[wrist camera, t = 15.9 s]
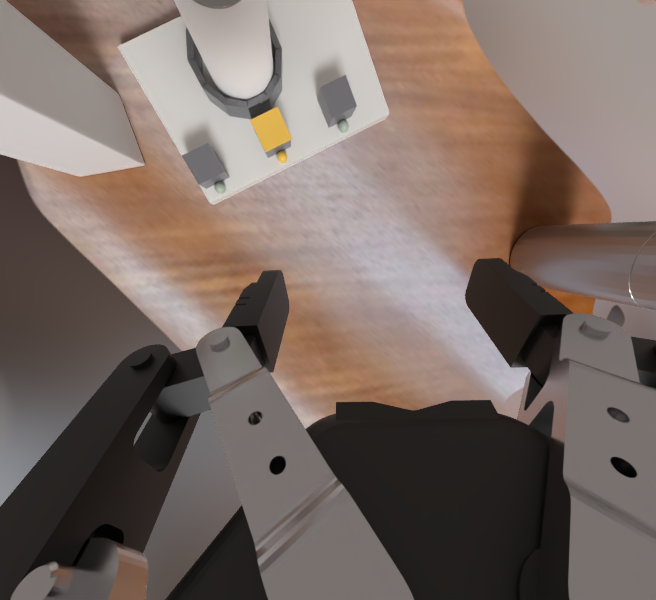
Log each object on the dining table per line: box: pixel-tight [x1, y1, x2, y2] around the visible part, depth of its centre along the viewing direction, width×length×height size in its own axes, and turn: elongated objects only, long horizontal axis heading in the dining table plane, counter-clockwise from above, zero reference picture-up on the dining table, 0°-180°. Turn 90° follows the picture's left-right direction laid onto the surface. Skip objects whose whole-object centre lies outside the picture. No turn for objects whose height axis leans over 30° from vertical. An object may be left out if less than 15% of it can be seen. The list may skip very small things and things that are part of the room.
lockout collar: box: [186, 19, 283, 119], centre depth 25 cm, size 9×9×2 cm
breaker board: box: [117, 0, 390, 205], centre depth 26 cm, size 24×16×4 cm, turn 116°
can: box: [174, 0, 274, 101], centre depth 20 cm, size 6×6×12 cm
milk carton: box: [0, 0, 145, 177], centre depth 18 cm, size 7×7×19 cm
